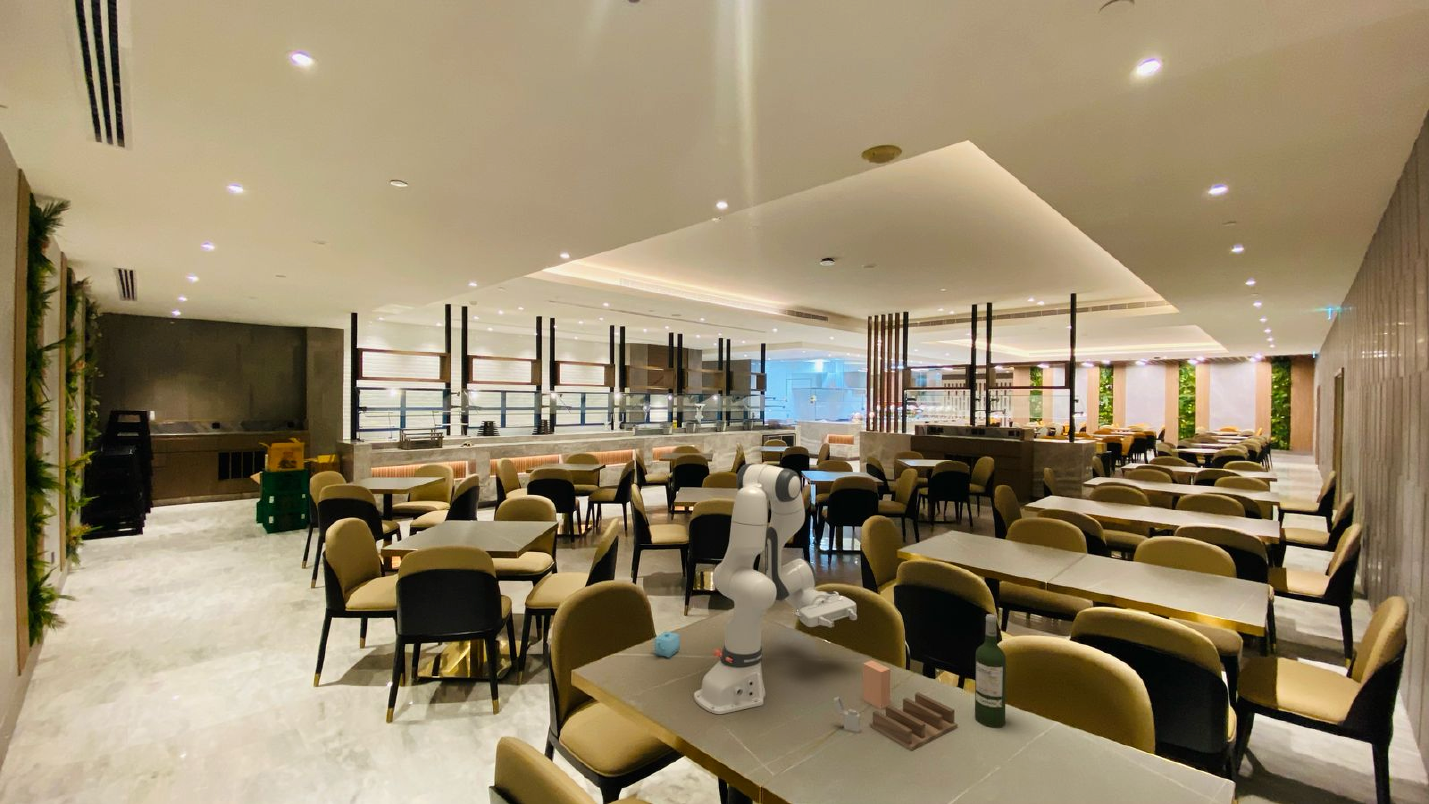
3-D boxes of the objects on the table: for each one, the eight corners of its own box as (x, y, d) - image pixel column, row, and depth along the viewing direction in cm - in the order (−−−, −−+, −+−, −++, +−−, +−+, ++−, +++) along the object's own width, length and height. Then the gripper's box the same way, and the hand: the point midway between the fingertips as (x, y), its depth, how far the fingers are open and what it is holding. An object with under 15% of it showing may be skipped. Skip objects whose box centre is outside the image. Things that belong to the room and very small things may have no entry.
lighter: (860, 729, 168) (860, 700, 168) (858, 732, 167) (859, 703, 167) (834, 723, 171) (834, 695, 171) (833, 726, 170) (833, 698, 170)
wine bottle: (975, 724, 171) (977, 618, 171) (974, 711, 179) (975, 609, 178) (1006, 730, 168) (1008, 622, 168) (1003, 716, 176) (1005, 612, 176)
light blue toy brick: (664, 663, 209) (664, 641, 209) (649, 660, 212) (649, 638, 212) (681, 650, 220) (681, 629, 219) (667, 647, 222) (667, 626, 222)
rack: (911, 750, 158) (911, 733, 158) (869, 726, 170) (869, 710, 170) (957, 727, 170) (957, 711, 170) (915, 706, 181) (915, 691, 181)
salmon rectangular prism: (880, 709, 179) (881, 672, 179) (862, 699, 185) (863, 663, 185) (889, 705, 182) (890, 668, 181) (871, 695, 187) (871, 660, 187)
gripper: (791, 603, 201) (817, 619, 189) (839, 590, 211) (867, 604, 199) (791, 621, 202) (818, 639, 190) (839, 607, 211) (867, 623, 199)
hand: (843, 621), depth 194 cm, fingers open, 8 cm apart
